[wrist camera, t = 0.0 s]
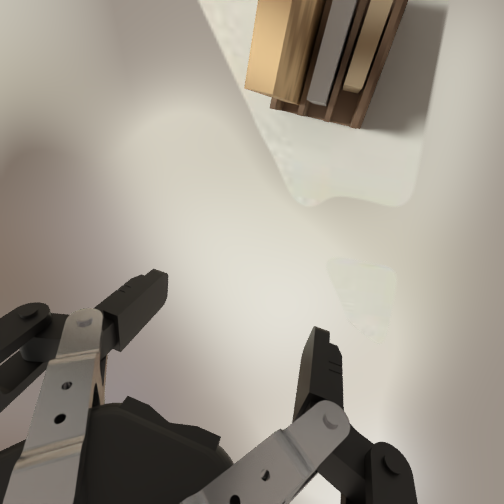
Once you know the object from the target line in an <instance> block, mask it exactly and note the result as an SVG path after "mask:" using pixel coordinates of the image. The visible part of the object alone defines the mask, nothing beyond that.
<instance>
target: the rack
mask: <svg viewBox="0 0 504 504" xmlns="http://www.w3.org/2000/svg"><path fill="white" fill-rule="evenodd" d="M332 1H333V0H326V4H325V8H324V11H323V15H322V19H321V23H320V27H319V31H318V35H317V39H316V43H315V47H314V50H313V54H312V58H311V62H310V66H309V70H308V74H307V78H306V82H305V86H304V90H303V93H302V97H301V101H300V105H296V104H292V103H288V102H284V101H281V100H278V99H275V98H272V99H271V104H270V108H271V109H275V110H282V111H287V112H291V113H295V114H297V115H301V116H308V117H312V118H316V119H320V120H324V121H326V122H333V123H337V124H341V125H346V126H349V127H351V128H355V129H357V128H358V129H360V128H361V125H362V122H363V120H364V117H365V114H366V112H367V109H368V106H369V104H370V101H371V98H372V96H373V93H374V90H375V88H376V85H377V82H378V80H379V77H380V74H381V72H382V69H383V66H384V64H385V61H386V58H387V56H388V53H389V50H390V48H391V45H392V42H393V40H394V37H395V34H396V32H397V29H398V26H399V24H400V21H401V18H402V16H403V13H404V10H405V8H406V5H407V2H408V0H393V2H392V5H391V8H390V11H389V14H388V17H387V19H386V22H385V25H384V28H383V31H382V34H381V36H380V39H379V42H378V45H377V48H376V51H375V53H374V56H373V59H372V62H371V65H370V68H369V70H368V73H367V76H366V79H365V82H364V85H363V87H362V89H361V90H360V91H359V92H358V93H354V92H349V91H345V90H343V86H344V83H345V80H346V76H347V73H348V70H349V67H350V64H351V61H352V58H353V55H354V51H355V48H356V45H357V42H358V39H359V36H360V33H361V30H362V27H363V23H364V20H365V17H366V14H367V11H368V8H369V5H370V2H371V0H358V2H357V7H356V12H355V15H354V19H353V22H352V25H351V28H350V32H349V35H348V38H347V42H346V45H345V48H344V52H343V55H342V58H341V61H340V65H339V68H338V71H337V75H336V78H335V81H334V84H333V88H332V91H331V94H330V98H329V101H328V104H327V107H326V106H322V105H317V104H313V103H311V102H310V101H308V100H307V96H308V92H309V88H310V84H311V81H312V77H313V73H314V69H315V65H316V62H317V58H318V54H319V50H320V47H321V43H322V39H323V35H324V32H325V28H326V24H327V20H328V16H329V13H330V9H331V5H332Z"/></svg>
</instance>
